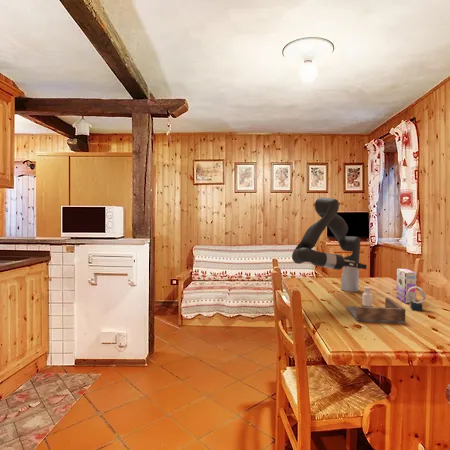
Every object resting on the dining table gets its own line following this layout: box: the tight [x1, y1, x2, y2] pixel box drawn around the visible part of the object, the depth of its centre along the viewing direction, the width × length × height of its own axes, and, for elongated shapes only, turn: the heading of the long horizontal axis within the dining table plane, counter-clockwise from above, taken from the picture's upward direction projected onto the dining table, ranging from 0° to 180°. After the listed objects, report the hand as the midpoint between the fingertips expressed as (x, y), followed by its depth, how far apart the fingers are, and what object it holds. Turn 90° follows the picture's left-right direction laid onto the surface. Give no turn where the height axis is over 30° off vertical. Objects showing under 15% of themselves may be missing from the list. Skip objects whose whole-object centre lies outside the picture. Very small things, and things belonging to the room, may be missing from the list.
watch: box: [407, 286, 427, 312], centre depth 157 cm, size 6×8×11 cm
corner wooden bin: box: [346, 297, 406, 324], centre depth 147 cm, size 20×20×6 cm
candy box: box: [396, 268, 418, 304], centre depth 173 cm, size 14×6×16 cm, turn 168°
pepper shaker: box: [361, 286, 373, 307], centre depth 163 cm, size 4×4×10 cm
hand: (361, 266), depth 162 cm, fingers open, 8 cm apart
